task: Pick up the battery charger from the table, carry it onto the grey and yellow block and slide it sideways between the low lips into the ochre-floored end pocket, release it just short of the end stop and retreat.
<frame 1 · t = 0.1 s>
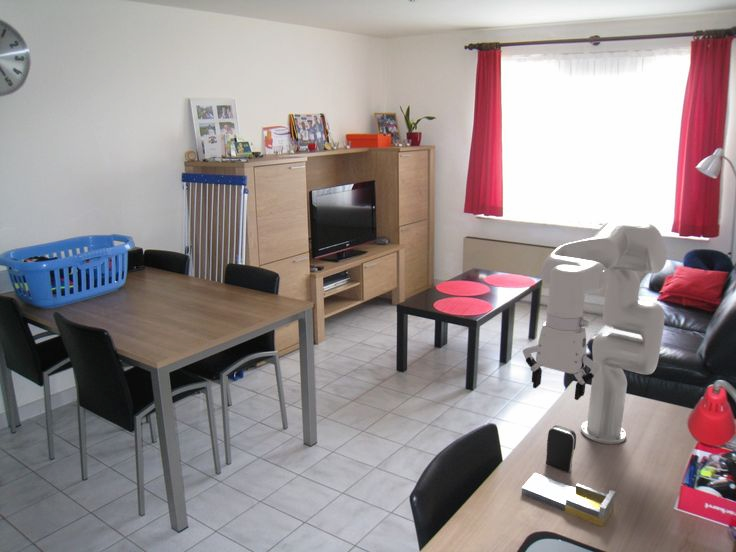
hand: (557, 391, 137), 31 cm above the table, fingers open, 9 cm apart
battery charger: (559, 467, 163), on the table
grey and yellow block: (550, 495, 150), on the table
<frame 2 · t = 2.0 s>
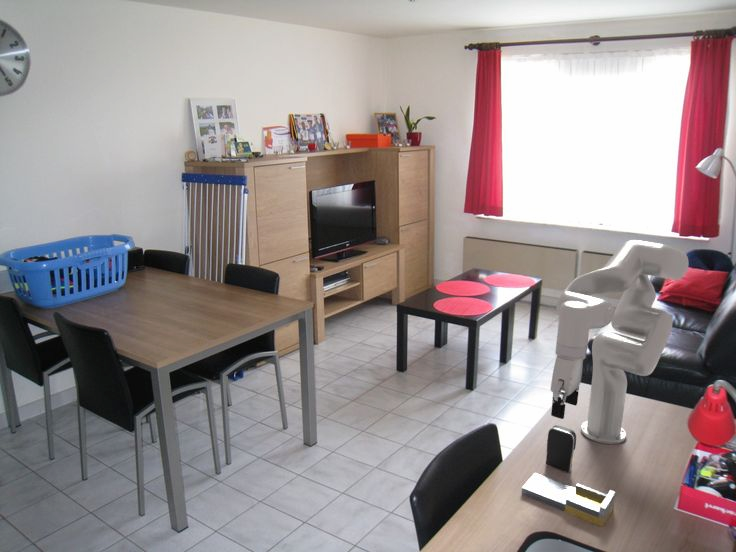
hand: (564, 410, 158), 17 cm above the table, fingers open, 9 cm apart
nothing on the table moved.
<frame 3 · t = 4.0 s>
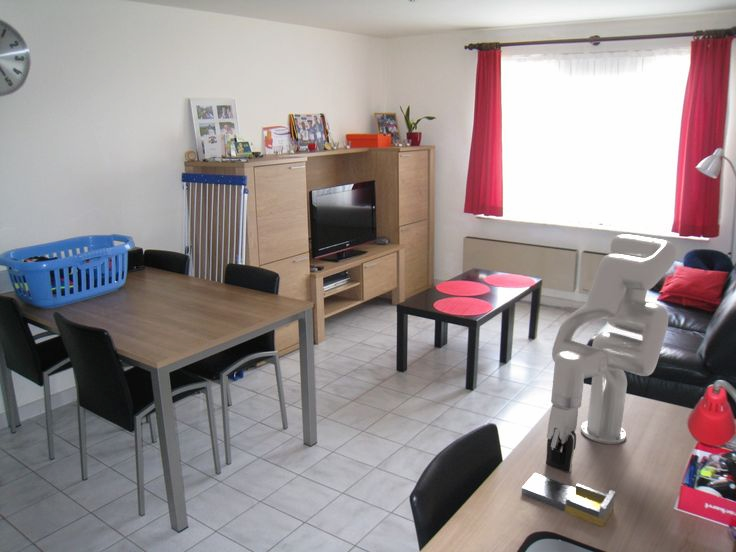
hand: (560, 458, 162), 2 cm above the table, fingers closed on battery charger, 3 cm apart
battery charger: (559, 466, 163), on the table, touching gripper
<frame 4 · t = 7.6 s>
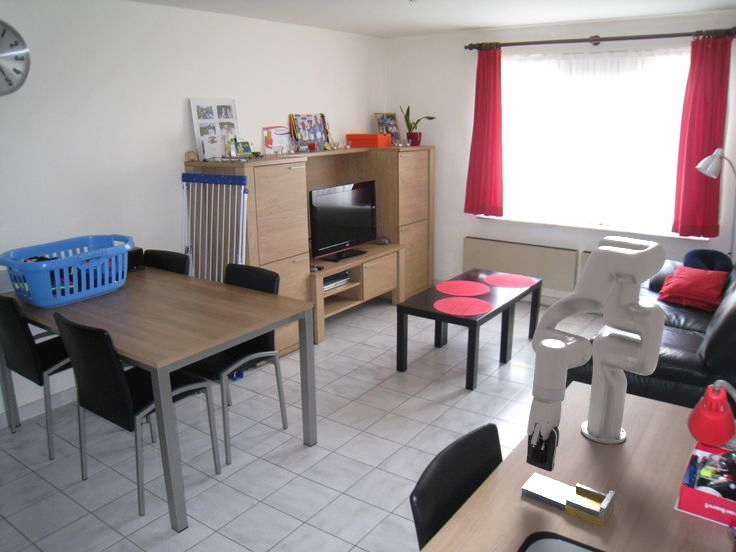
hand: (541, 457, 149), 10 cm above the table, fingers closed on battery charger, 3 cm apart
battery charger: (541, 465, 150), point 7 cm above the table, touching gripper
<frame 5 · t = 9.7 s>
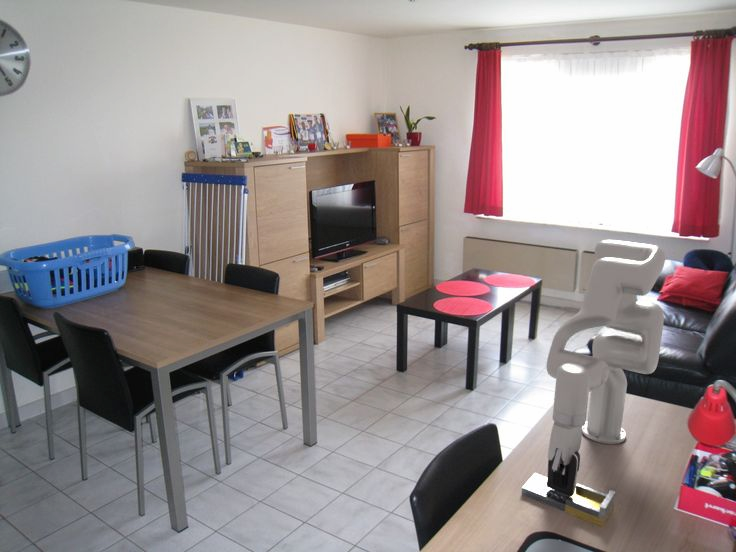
hand: (562, 481, 148), 5 cm above the table, fingers closed on battery charger, 3 cm apart
battery charger: (561, 489, 148), point 3 cm above the table, touching gripper
when the fingers open (5 cm above the table, at t = 11.3 s): battery charger stays where it is, resting on grey and yellow block.
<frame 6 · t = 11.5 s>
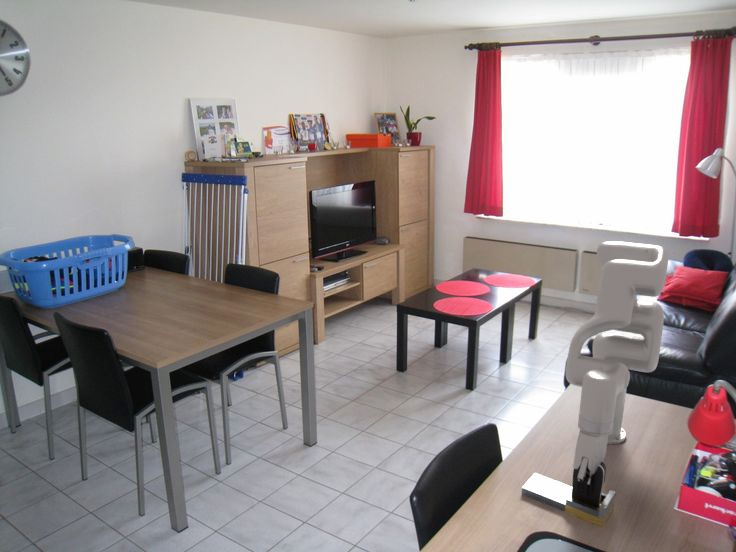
hand: (587, 490, 144), 5 cm above the table, fingers open, 4 cm apart
battery charger: (586, 500, 145), point 2 cm above the table, touching gripper, grey and yellow block
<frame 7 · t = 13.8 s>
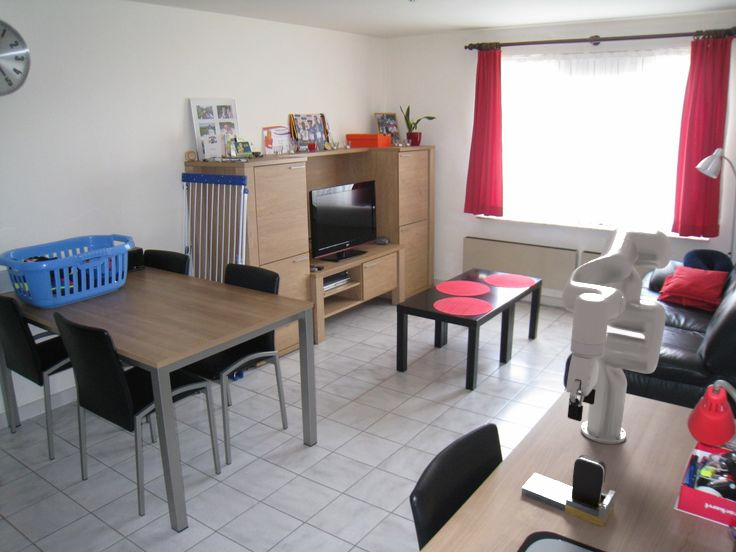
hand: (581, 410, 146), 23 cm above the table, fingers open, 9 cm apart
battery charger: (586, 501, 145), point 2 cm above the table, touching grey and yellow block
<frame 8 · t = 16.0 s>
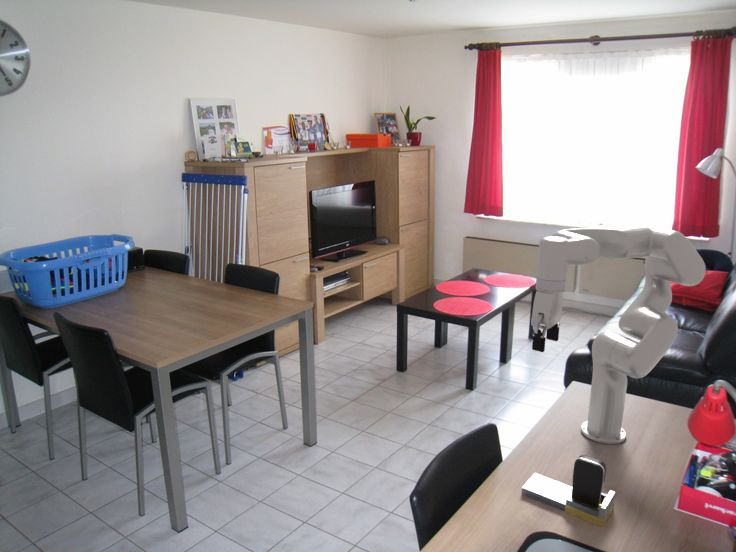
hand: (545, 345, 161), 32 cm above the table, fingers open, 9 cm apart
nothing on the table moved.
at the end: battery charger 0.7 cm from the target spot on the grey and yellow block, point 1.8 cm above the grey and yellow block's base; battery charger tilted 0°; the gripper is holding nothing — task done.
